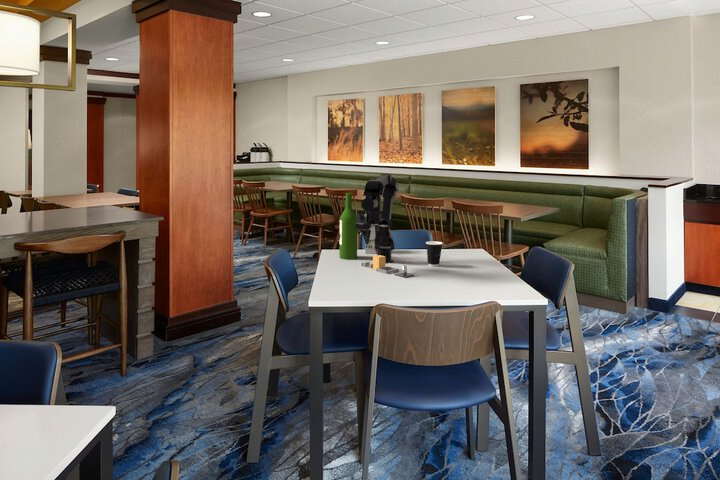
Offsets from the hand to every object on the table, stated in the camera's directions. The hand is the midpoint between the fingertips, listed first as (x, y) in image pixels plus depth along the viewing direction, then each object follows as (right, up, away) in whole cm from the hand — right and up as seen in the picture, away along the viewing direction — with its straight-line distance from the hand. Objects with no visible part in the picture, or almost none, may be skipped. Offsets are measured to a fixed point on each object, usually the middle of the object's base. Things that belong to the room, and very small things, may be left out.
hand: (374, 243), depth 234 cm
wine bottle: (-12, -8, +27) cm, 31 cm away
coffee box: (0, -5, +43) cm, 44 cm away
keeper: (+13, -14, -10) cm, 21 cm away
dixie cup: (+29, -11, +11) cm, 33 cm away
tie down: (+2, -12, +2) cm, 12 cm away
